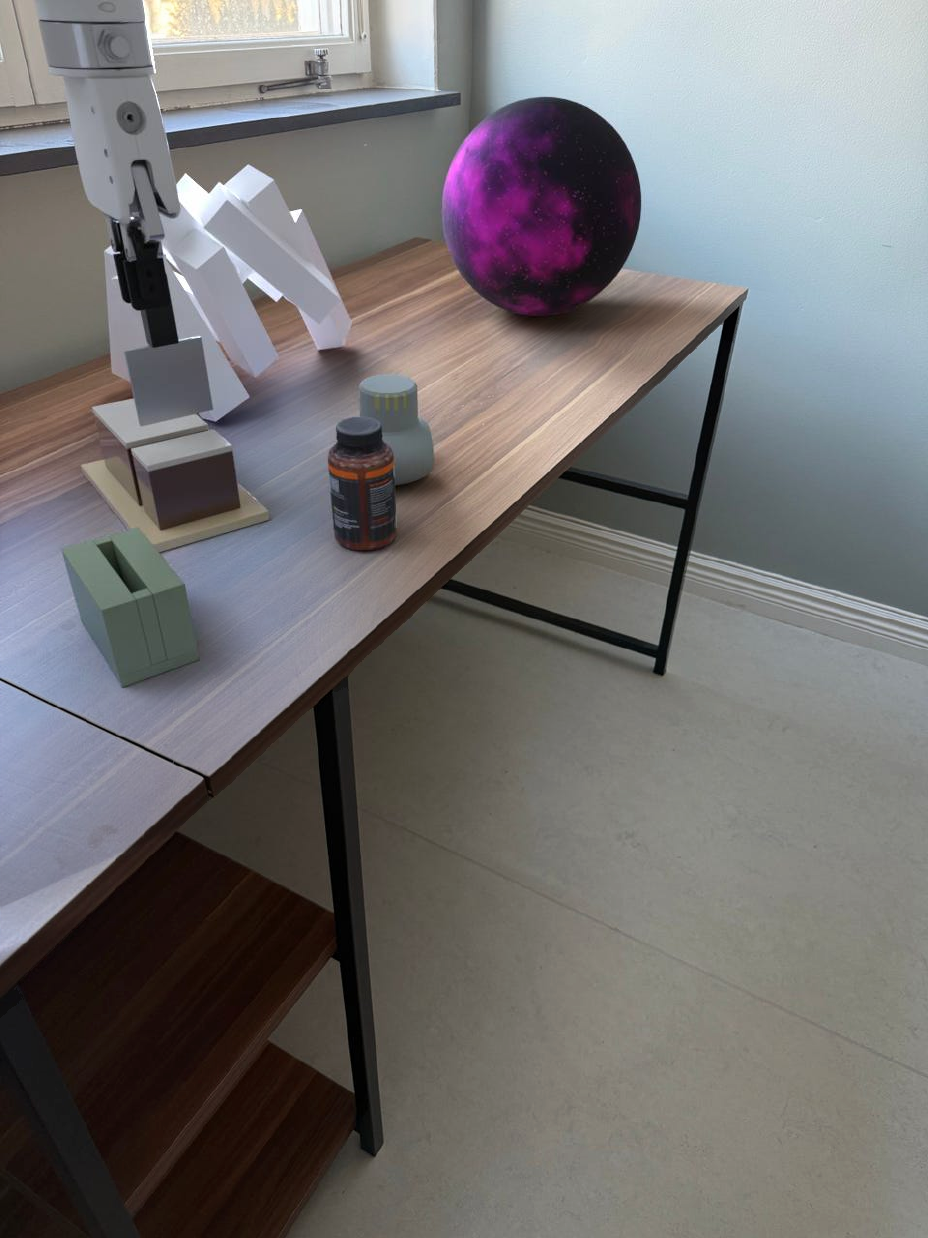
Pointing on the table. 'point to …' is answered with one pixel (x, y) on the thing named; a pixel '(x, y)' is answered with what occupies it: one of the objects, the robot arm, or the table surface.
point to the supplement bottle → (362, 485)
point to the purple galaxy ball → (541, 206)
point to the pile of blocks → (233, 281)
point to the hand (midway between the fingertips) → (146, 302)
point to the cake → (169, 477)
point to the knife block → (131, 605)
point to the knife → (167, 371)
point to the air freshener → (399, 423)
